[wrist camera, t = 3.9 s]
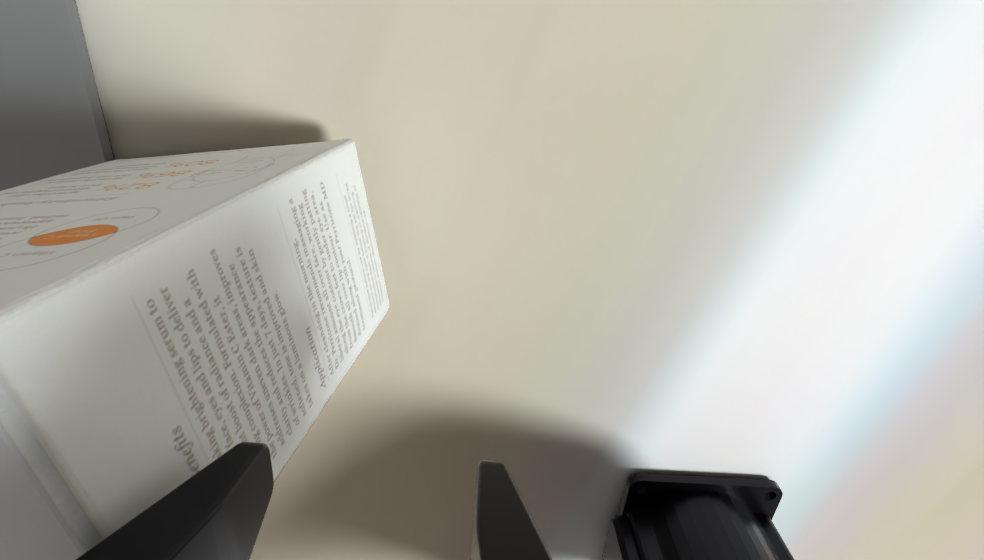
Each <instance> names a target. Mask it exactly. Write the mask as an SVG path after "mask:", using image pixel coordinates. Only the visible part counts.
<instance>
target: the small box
mask: <svg viewBox="0 0 984 560" xmlns="http://www.w3.org/2000/svg"><path fill="white" fill-rule="evenodd" d="M388 310H389V299H388V295H387V290H386V286H385V281H384V276H383V271H382V267H381V262H380V257H379V252H378V247H377V243H376V238H375V234H374V229H373V224H372V220H371V215H370V210H369V206H368V201H367V196H366V192H365V188H364V183H363V179H362V174H361V170H360V165H359V161H358V156H357V151H356V146H355V143H354V141H353V140H351V139H343V140H335V141H325V142H313V143H304V144H291V145H279V146H268V147H257V148H246V149H236V150H224V151H212V152H200V153H189V154H179V155H168V156H156V157H144V158H133V159H116V160H112V161H108V162H104V163H101V164H97V165H93V166H89V167H86V168H82V169H78V170H75V171H71V172H67V173H64V174H60V175H56V176H52V177H49V178H45V179H42V180H38V181H34V182H31V183H27V184H24V185H20V186H17V187H13V188H10V189H6V190H2V191H0V560H76V559H77V558H78V557H80V556H81V555H83V554H84V553H85V552H87V551H88V550H90V549H91V548H92V547H94V546H95V545H97V544H98V543H99V542H101V541H102V540H104V539H105V538H106V537H108V536H109V535H111V534H112V533H113V532H115V531H116V530H118V529H119V528H120V527H122V526H123V525H125V524H126V523H127V522H129V521H130V520H132V519H133V518H134V517H136V516H137V515H139V514H140V513H141V512H143V511H144V510H146V509H147V508H148V507H150V506H151V505H153V504H154V503H155V502H157V501H158V500H160V499H161V498H162V497H164V496H165V495H167V494H168V493H169V492H171V491H172V490H174V489H175V488H176V487H178V486H179V485H181V484H182V483H183V482H185V481H186V480H188V479H189V478H190V477H192V476H193V475H195V474H196V473H197V472H199V471H200V470H202V469H203V468H204V467H206V466H207V465H209V464H210V463H211V462H213V461H214V460H216V459H217V458H218V457H220V456H221V455H223V454H224V453H225V452H227V451H228V450H230V449H231V448H232V447H234V446H235V445H237V444H239V443H241V442H256V443H264V444H267V445H268V447H269V450H270V456H271V464H272V471H273V478H274V481H275V480H276V478H277V477H278V475H279V474H280V472H281V471H282V469H283V468H284V466H285V465H286V463H287V462H288V460H289V459H290V457H291V456H292V454H293V453H294V452H295V450H296V449H297V447H298V446H299V444H300V443H301V441H302V440H303V438H304V436H305V435H306V433H307V432H308V430H309V429H310V427H311V426H312V424H313V423H314V421H315V420H316V418H317V417H318V415H319V414H320V412H321V411H322V409H323V408H324V406H325V405H326V403H327V401H328V400H329V398H330V397H331V396H332V394H333V393H334V391H335V390H336V388H337V387H338V385H339V384H340V382H341V381H342V379H343V378H344V376H345V374H346V373H347V371H348V370H349V368H350V367H351V365H352V364H353V362H354V361H355V359H356V358H357V356H358V355H359V353H360V352H361V350H362V349H363V347H364V346H365V344H366V343H367V341H368V340H369V338H370V337H371V335H372V334H373V332H374V331H375V329H376V328H377V326H378V325H379V323H380V322H381V320H382V319H383V317H384V316H385V314H386V313H387V311H388Z"/></svg>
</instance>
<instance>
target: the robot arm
mask: <svg viewBox="0 0 984 560" xmlns="http://www.w3.org/2000/svg"><path fill="white" fill-rule="evenodd" d="M273 485H274V478H273V471H272V464H271V456H270V450H269V447H268V445H267V444H264V443H256V442H241V443H239V444H237V445H235V446H234V447H232V448H231V449H230V450H228V451H227V452H225V453H224V454H223V455H221V456H220V457H218V458H217V459H216V460H214V461H213V462H211V463H210V464H209V465H207V466H206V467H204V468H203V469H202V470H200V471H199V472H197V473H196V474H195V475H193V476H192V477H190V478H189V479H188V480H186V481H185V482H183V483H182V484H181V485H179V486H178V487H176V488H175V489H174V490H172V491H171V492H169V493H168V494H167V495H165V496H164V497H162V498H161V499H160V500H158V501H157V502H155V503H154V504H153V505H151V506H150V507H148V508H147V509H146V510H144V511H143V512H141V513H140V514H139V515H137V516H136V517H134V518H133V519H132V520H130V521H129V522H127V523H126V524H125V525H123V526H122V527H120V528H119V529H118V530H116V531H115V532H113V533H112V534H111V535H109V536H108V537H106V538H105V539H104V540H102V541H101V542H99V543H98V544H97V545H95V546H94V547H92V548H91V549H90V550H88V551H87V552H85V553H84V554H83V555H81V556H80V557H78V558H77V559H76V560H249V559H250V556H251V554H252V551H253V548H254V545H255V542H256V539H257V536H258V533H259V530H260V527H261V524H262V521H263V519H264V516H265V513H266V510H267V507H268V504H269V501H270V498H271V495H272V491H273ZM639 485H641V486H639ZM782 494H783V493H782V491H781V489H780V488H779V486H778V485H777V483H776V482H775V481H772V480H763V479H743V478H724V477H704V476H684V475H665V474H645V473H638V474H634V475H632V476H630V477H629V478H628V480H627V482H626V485H625V489H624V493H623V497H622V501H621V505H620V508H619V512H618V515H616V516H615V517H614V518H613V519H612V521H611V525H610V529H609V533H608V536H607V540H606V544H605V548H604V552H603V560H794V558H793V557H792V555H791V553H790V551H789V550H788V548H787V546H786V545H785V543H784V541H783V539H782V538H781V536H780V534H779V533H778V531H777V529H776V527H775V526H774V524H773V522H772V521H771V520H772V518H773V515H774V513H775V511H776V509H777V506H778V504H779V502H780V500H781V498H782ZM470 560H552V558H551V556H550V554H549V552H548V550H547V548H546V546H545V544H544V542H543V540H542V538H541V536H540V534H539V532H538V530H537V528H536V526H535V524H534V522H533V520H532V518H531V516H530V514H529V512H528V510H527V508H526V506H525V504H524V502H523V500H522V498H521V496H520V494H519V492H518V490H517V488H516V486H515V484H514V482H513V480H512V477H511V475H510V473H509V471H508V469H507V467H506V466H505V464H504V463H503V462H501V461H491V460H481V461H479V463H478V468H477V478H476V488H475V498H474V511H473V526H472V541H471V556H470Z"/></svg>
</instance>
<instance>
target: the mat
mask: <svg viewBox="0 0 984 560" xmlns="http://www.w3.org/2000/svg"><path fill="white" fill-rule="evenodd" d="M112 160H114V158H113V154H112V150H111V146H110V141H109V137H108V133H107V129H106V125H105V121H104V117H103V113H102V108H101V104H100V100H99V96H98V92H97V88H96V84H95V80H94V75H93V71H92V67H91V63H90V59H89V55H88V51H87V47H86V42H85V38H84V34H83V30H82V26H81V22H80V18H79V14H78V10H77V5H76V1H75V0H0V191H2V190H6V189H10V188H13V187H17V186H20V185H24V184H27V183H31V182H34V181H38V180H42V179H45V178H49V177H52V176H56V175H60V174H64V173H67V172H71V171H75V170H78V169H82V168H86V167H89V166H93V165H97V164H101V163H104V162H108V161H112Z"/></svg>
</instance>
